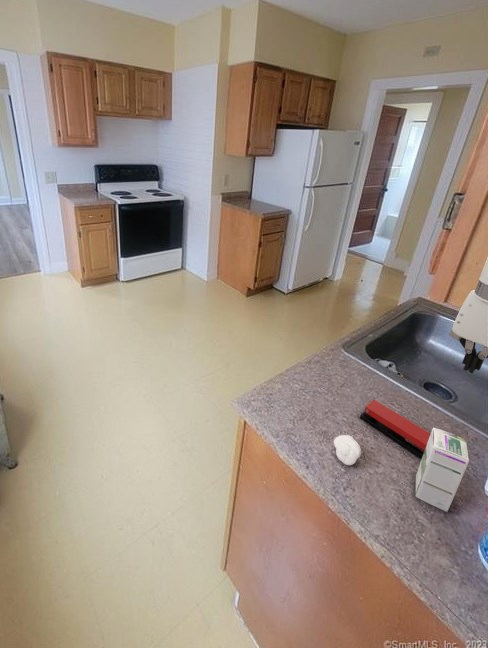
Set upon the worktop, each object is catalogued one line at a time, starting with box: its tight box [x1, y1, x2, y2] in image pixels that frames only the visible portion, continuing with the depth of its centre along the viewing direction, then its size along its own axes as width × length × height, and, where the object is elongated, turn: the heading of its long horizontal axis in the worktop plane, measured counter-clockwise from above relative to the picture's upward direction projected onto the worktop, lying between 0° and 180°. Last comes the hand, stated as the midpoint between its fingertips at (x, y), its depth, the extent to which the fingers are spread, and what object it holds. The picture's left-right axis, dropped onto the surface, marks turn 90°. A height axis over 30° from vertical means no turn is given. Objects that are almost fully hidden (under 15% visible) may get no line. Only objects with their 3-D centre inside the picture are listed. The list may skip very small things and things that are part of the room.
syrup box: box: [414, 427, 470, 513], centre depth 65 cm, size 6×6×14 cm
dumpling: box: [333, 434, 362, 466], centre depth 75 cm, size 7×5×4 cm
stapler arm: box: [363, 398, 431, 451], centre depth 80 cm, size 15×4×2 cm, turn 38°
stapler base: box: [359, 411, 424, 460], centre depth 81 cm, size 16×5×2 cm, turn 38°
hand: (469, 369), depth 70 cm, fingers closed
